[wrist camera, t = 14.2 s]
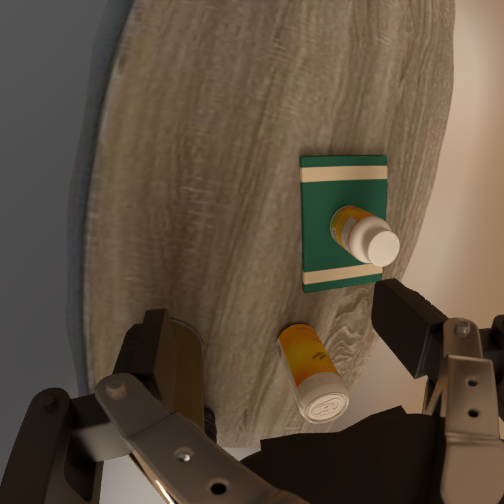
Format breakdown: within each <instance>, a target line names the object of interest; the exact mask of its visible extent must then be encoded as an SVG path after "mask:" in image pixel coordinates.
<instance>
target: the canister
mask: <svg viewBox="0 0 504 504" xmlns="http://www.w3.org/2000/svg"><path fill="white" fill-rule="evenodd" d="M170 321H171V326H172V330H173V335H174V339H175V343H176V349H177V366H176V378H175V390H174V404H173V412H175V411H179V412H180V413H182V414H183V415H184V416H185V417H186V418H188V419H189V420H190V421H191V422H192V423H193V424H194V425H195V426H197V427H198V428H199V429H200V430H201V431H202V432H203V433H205V428H204V398H203V356H204V344H203V341H202V340H201V338H200V336H199V335H198V333H197V332H196V330H194V329H193V328H192V327H191V326H189V325H188V324H186V323H184V322H182V321H179V320H175V319H170Z"/></svg>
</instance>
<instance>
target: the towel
mask: <svg viewBox="0 0 504 504" xmlns="http://www.w3.org/2000/svg"><path fill="white" fill-rule="evenodd" d="M299 160H300V182H301V211H302V261H303V270H302V281H303V291H304V293H308V292H315V291H322V290H329V289H335V288H342V287H348V286H354V285H360V284H366V283H372V282H377V281H380V280H381V278H382V270H383V266H381V267H380V266H376V265H374V264H372V263H364V262H361V261H359V260H358V259H356V258H355V257H354V256H353V255H352V254H350V253H349V252H348V251H347V250H345V249H344V248H343V247H342V246H341V245H339V244H338V243H337V242H336V241H335V240H334V239H333V237H332V235H331V232H330V223H331V219H332V217H333V215H334V214H335V213H336V212H337V211H338V210H339V209H340V208H342V207H344V206H356V207H359V208H361V209H363V210H365V211H367V212H369V213H371V214H373V215H375V216H377V217H379V218H381V219H383V220H384V221H385V222H386V203H387V156H377V155H345V156H305V157H299Z"/></svg>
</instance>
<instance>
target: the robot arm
mask: <svg viewBox="0 0 504 504" xmlns="http://www.w3.org/2000/svg"><path fill="white" fill-rule="evenodd" d="M371 320H372V325H373V328H374V329H375V331H376V332H377V333H378V334H379V336H380V337H381V338H382V339H383V340H384V342H385V343H386V344H387V345H388V347H389V348H390V349H391V350H392V351H393V353H394V354H395V355H396V356H397V358H398V359H399V360H400V361H401V363H402V364H403V365H404V366H405V368H406V369H407V370H408V371H409V373H410V374H411V375H412V376H413V378H414V379H417V378H419V377H422V376H425V375H427V376H428V379H427V382H426V388H425V396H424V403H423V409H422V414H407V413H406V412H405V410H404V409H403V408H402V406H401V405H400V406H397V407H395V408H392V409H389V410H386V411H383V412H379V413H376V414H373V415H370V416H368V417H367V418H365V419H363V420H361V421H359V422H358V423H356V424H354V425H352V426H350V427H348V428H346V429H345V430H342V431H340V432H333V433H298V434H292V435H287V436H282V437H276V438H270V439H264V440H260V443H261V451H259V452H256V453H254V454H252V455H249V456H248V457H246V458H244V459H242V460H241V461H238V460H236V459H235V458H234V457H233V456H231V455H230V454H229V453H228V452H226V451H225V450H224V449H223V448H221V447H220V446H219V445H218V444H216V443H215V442H214V441H213V440H212V439H210V438H209V437H208V436H207V435H206V434H205V433H203V432H202V431H201V430H200V429H199V428H198V427H197V426H195V425H194V424H193V423H192V422H191V421H190V420H189V419H188V418H186V417H185V416H184V415H183V414H182V413H180V412H179V411H175V412H173V404H174V390H175V378H176V366H177V349H176V343H175V339H174V335H173V330H172V326H171V321H170V317H169V313H168V310H167V308H163V309H152V310H147V311H146V314H145V317H144V320H143V323H142V324H134V325H133V326H132V327H131V328H130V329H129V330H128V331H127V332H126V335H125V338H124V341H123V342H124V343H123V344H122V347H121V351H120V353H119V355H118V358H117V361H116V364H115V368H114V371H113V374H112V375H109V376H107V377H105V378H104V379H102V380H101V381H100V382H99V383H98V384H97V386H96V388H95V393H94V394H91V395H87V396H83V397H78V398H74V399H71V398H70V397H69V395H68V393H67V392H66V391H65V390H63V389H61V388H48V389H45V390H43V391H41V392H39V393H38V394H37V395H36V396H35V397H34V398H33V399H32V401H31V403H30V405H29V408H28V410H27V413H26V415H25V417H24V420H23V422H22V425H21V427H20V430H19V433H18V435H17V438H16V441H15V443H14V446H13V449H12V452H11V454H10V458H9V460H8V463H7V466H6V469H5V473H4V476H3V479H2V482H1V486H0V504H99V500H100V490H101V489H100V488H101V480H102V471H103V464H104V460H108V459H112V458H116V457H121V456H125V455H128V456H129V457H130V458H131V460H132V461H133V462H134V464H135V465H136V466H137V467H138V469H139V470H140V471H141V472H142V474H143V475H144V476H145V477H146V478H147V480H148V481H149V482H150V483H151V485H152V486H153V487H154V488H155V489H156V490H157V492H158V493H159V494H160V495H161V496H162V497H163V499H164V500H165V501H166V503H167V504H504V440H503V439H500V434H499V417H500V418H501V419H502V420H503V422H504V315H498V316H496V317H495V318H494V321H493V324H492V327H491V328H486V329H478V327H477V325H476V324H474V323H473V322H472V321H470V320H467V319H464V318H450V319H449V318H448V317H447V316H446V315H444V314H443V313H442V312H441V311H440V310H438V309H437V308H436V307H435V306H434V305H431V303H430V302H429V301H428V300H425V298H424V297H423V296H421V295H420V294H419V293H418V292H416V291H413V290H411V289H409V288H407V287H405V286H404V285H403V284H402V283H400V282H399V281H398V280H397V279H395V278H391V279H386V280H380V281H377V282H376V284H375V288H374V297H373V306H372V314H371Z"/></svg>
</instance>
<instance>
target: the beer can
mask: <svg viewBox="0 0 504 504" xmlns="http://www.w3.org/2000/svg"><path fill="white" fill-rule="evenodd" d="M277 348H278V351H279V354H280V356H281V359H282V362H283V365H284V368H285V371H286V374H287V377H288V380H289V382H290V385H291V388H292V391H293V394H294V397H295V400H296V402H297V405H298V408H299V411H300V413H301V415H302V416H304V417H305V418H306V419H307V420H308V421H309V422H311V423H315V424H321V423H326V422H330V421H332V420H334V419H336V418H338V417H339V416H340V415H342V414H343V413H344V412H345V410H346V409H347V407H348V404H349V401H348V390H347V388H346V387H345V385H344V383H343V381H342V379H341V377H340V376H339V374H338V372H337V370H336V368H335V366H334V365H333V363H332V361H331V359H330V357H329V355H328V354H327V352H326V350H325V348H324V346H323V345H322V343H321V341H320V339H319V337H318V336H317V334H316V332H315V330H314V329H313V328H312V327H310V326H308V325H305V324H296V325H292V326H290V327H288V328H286V329H285V330H284V331H283V332H282V333H281V334H280V336H279V338H278V340H277Z"/></svg>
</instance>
